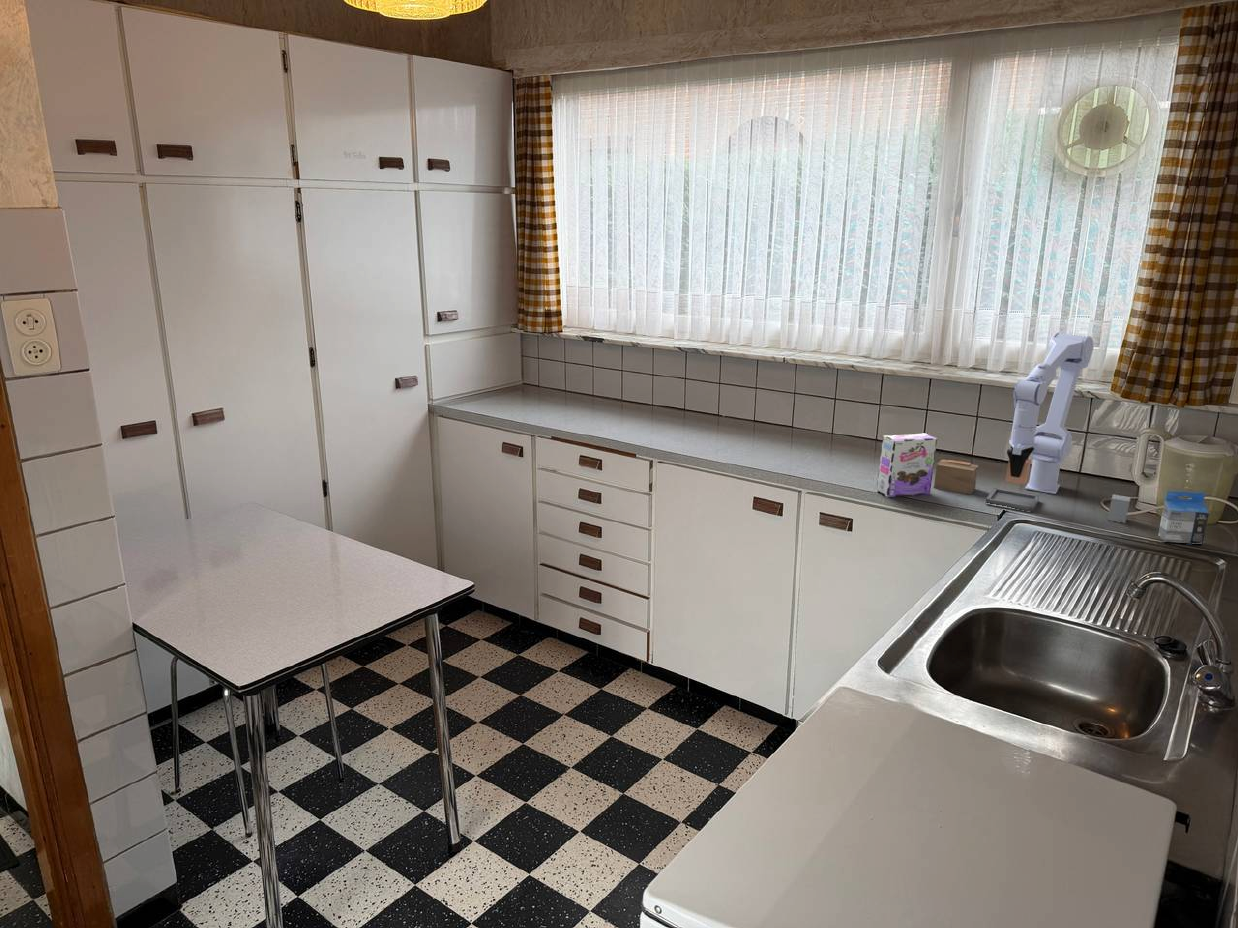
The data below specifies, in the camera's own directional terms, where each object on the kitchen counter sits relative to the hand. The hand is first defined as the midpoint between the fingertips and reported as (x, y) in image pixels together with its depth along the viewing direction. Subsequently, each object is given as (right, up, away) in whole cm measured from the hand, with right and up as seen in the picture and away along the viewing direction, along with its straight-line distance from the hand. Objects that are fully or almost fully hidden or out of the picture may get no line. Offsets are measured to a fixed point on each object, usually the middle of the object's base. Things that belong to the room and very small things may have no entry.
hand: (1016, 474), depth 235 cm
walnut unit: (-12, -4, +14) cm, 18 cm away
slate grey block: (+22, -12, -9) cm, 26 cm away
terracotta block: (0, -2, 0) cm, 2 cm away
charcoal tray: (0, -8, +2) cm, 8 cm away
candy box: (-28, -5, +9) cm, 30 cm away
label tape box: (+29, -16, -23) cm, 40 cm away
